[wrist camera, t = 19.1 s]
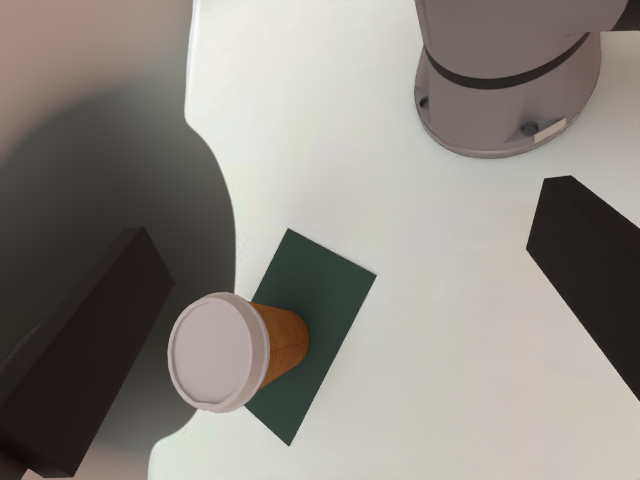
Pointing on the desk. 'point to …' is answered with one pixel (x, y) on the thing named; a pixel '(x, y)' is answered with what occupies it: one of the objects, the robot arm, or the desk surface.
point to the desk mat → (307, 323)
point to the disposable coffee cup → (232, 350)
